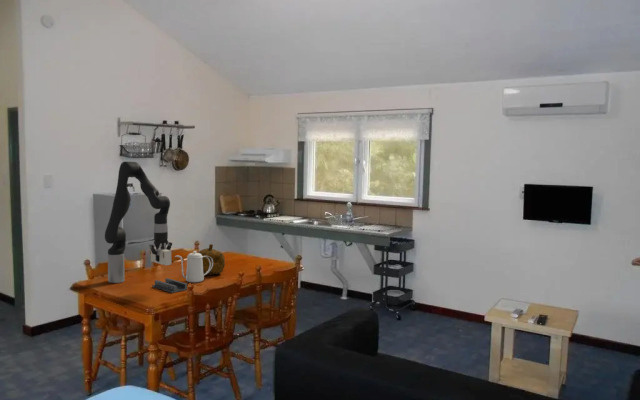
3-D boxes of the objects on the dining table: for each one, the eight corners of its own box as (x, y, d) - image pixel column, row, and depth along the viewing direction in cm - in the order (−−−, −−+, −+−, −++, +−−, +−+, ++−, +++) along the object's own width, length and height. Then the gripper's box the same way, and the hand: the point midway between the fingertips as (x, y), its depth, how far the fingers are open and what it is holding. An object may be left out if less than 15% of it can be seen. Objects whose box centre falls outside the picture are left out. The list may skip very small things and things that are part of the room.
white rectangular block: (150, 261, 303) (150, 247, 303) (156, 260, 306) (156, 247, 305) (165, 265, 293) (165, 251, 292) (171, 264, 295) (171, 250, 295)
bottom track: (152, 286, 308) (152, 281, 307) (170, 283, 317) (170, 277, 316) (171, 293, 295) (171, 287, 294) (189, 289, 304) (189, 283, 303)
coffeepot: (171, 281, 321) (171, 251, 319) (209, 276, 336) (209, 247, 334) (177, 285, 312) (177, 254, 311) (216, 280, 327) (216, 250, 325)
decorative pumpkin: (186, 273, 339) (188, 243, 339) (207, 270, 358) (209, 241, 357) (210, 278, 330) (213, 247, 329) (230, 275, 348) (233, 245, 348)
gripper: (168, 229, 305) (168, 258, 307) (146, 231, 295) (146, 261, 296) (175, 230, 300) (175, 260, 302) (153, 233, 290) (153, 263, 291)
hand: (161, 260), depth 299 cm, fingers closed on white rectangular block, 3 cm apart
